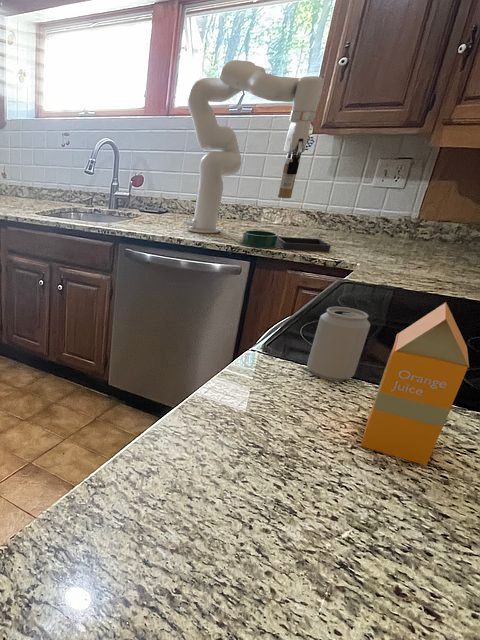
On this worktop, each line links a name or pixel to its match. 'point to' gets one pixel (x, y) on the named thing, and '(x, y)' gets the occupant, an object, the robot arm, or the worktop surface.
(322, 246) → the tray
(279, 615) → the worktop surface
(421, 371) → the orange juice
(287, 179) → the sprinkles bottle
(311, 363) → the can
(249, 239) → the bowl
